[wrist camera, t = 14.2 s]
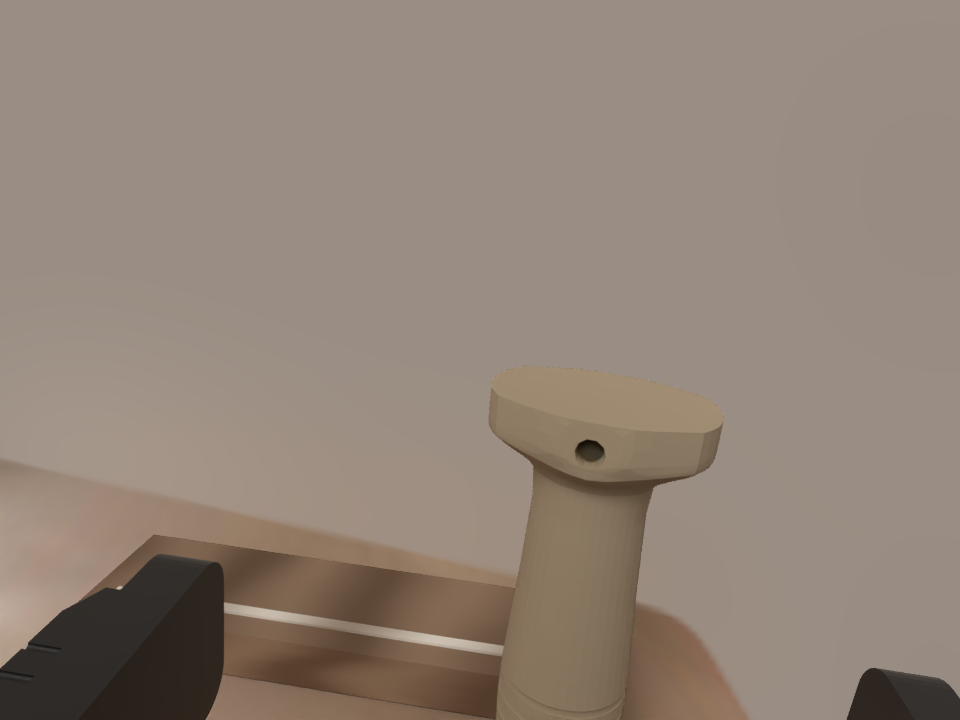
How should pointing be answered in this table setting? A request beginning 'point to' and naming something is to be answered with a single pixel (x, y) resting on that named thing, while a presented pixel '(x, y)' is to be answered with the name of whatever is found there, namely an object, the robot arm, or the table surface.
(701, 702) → the table surface
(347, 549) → the table surface
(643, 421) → the handle
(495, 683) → the walnut board
